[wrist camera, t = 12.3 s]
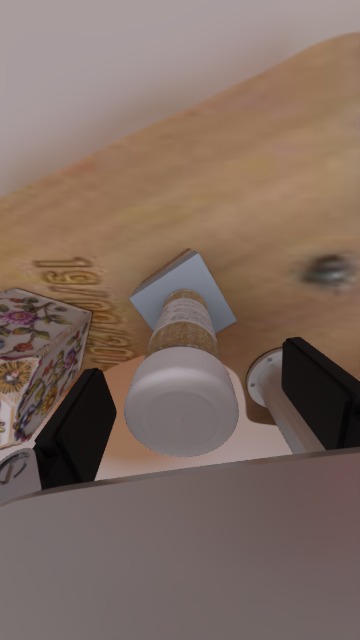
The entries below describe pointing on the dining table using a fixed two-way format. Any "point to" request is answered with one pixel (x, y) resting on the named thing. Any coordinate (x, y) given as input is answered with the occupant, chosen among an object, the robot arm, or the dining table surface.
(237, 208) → the dining table surface
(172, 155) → the dining table surface
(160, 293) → the slate top block
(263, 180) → the dining table surface
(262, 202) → the dining table surface
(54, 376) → the decorative jar
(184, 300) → the sprinkles bottle
